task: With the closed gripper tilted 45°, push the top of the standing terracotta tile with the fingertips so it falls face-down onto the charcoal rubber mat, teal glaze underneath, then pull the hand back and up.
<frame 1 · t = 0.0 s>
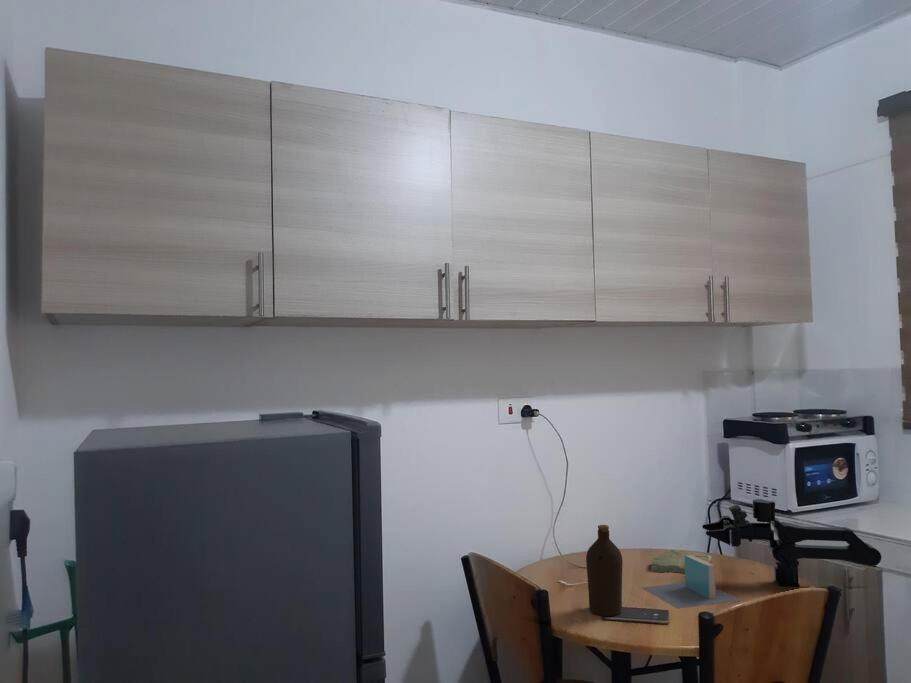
hand: (704, 529, 230), 17 cm above the table, tool horizontal, fingers open, 9 cm apart
decorative tile: (681, 568, 245), on the table
tile: (700, 592, 215), point 1 cm above the table, touching mat
olive oil: (605, 611, 202), on the table
mat: (689, 595, 214), on the table
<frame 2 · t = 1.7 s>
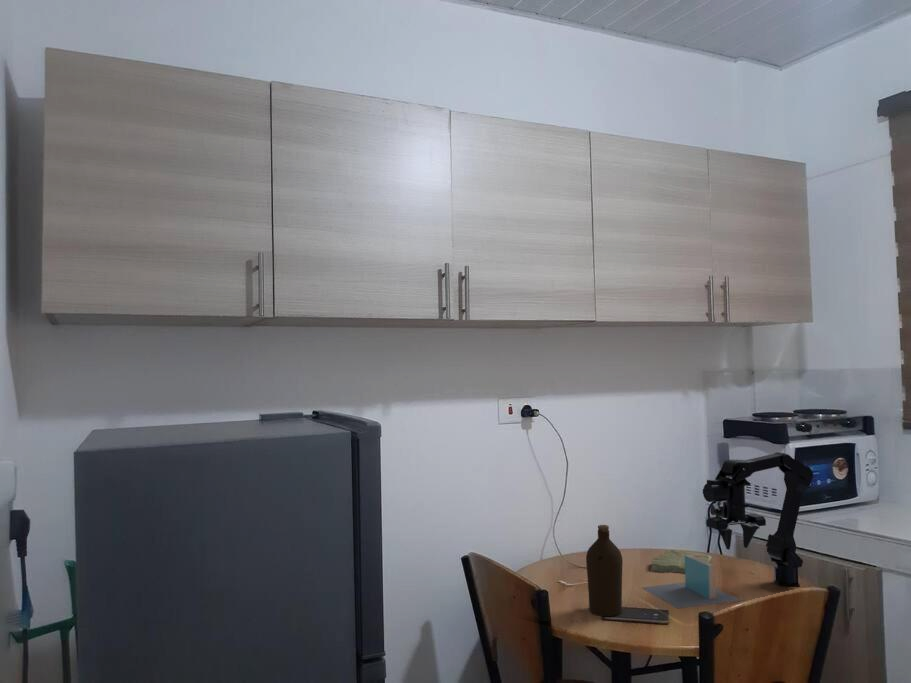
hand: (736, 548, 219), 13 cm above the table, tool pointing down, fingers open, 6 cm apart
nothing on the table moved.
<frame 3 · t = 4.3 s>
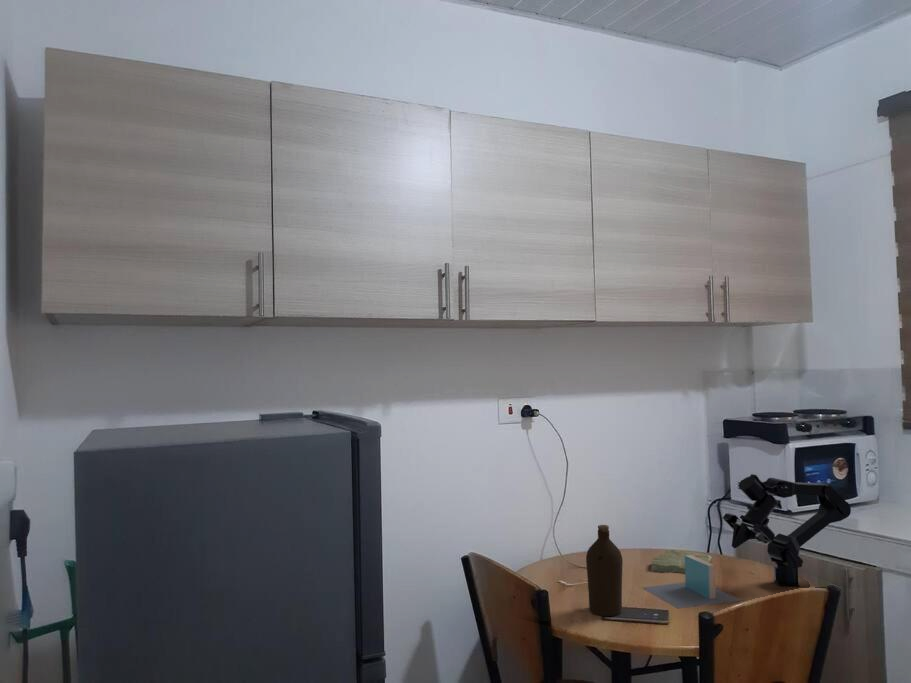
hand: (733, 547, 219), 14 cm above the table, tool tilted 45°, fingers closed
nothing on the table moved.
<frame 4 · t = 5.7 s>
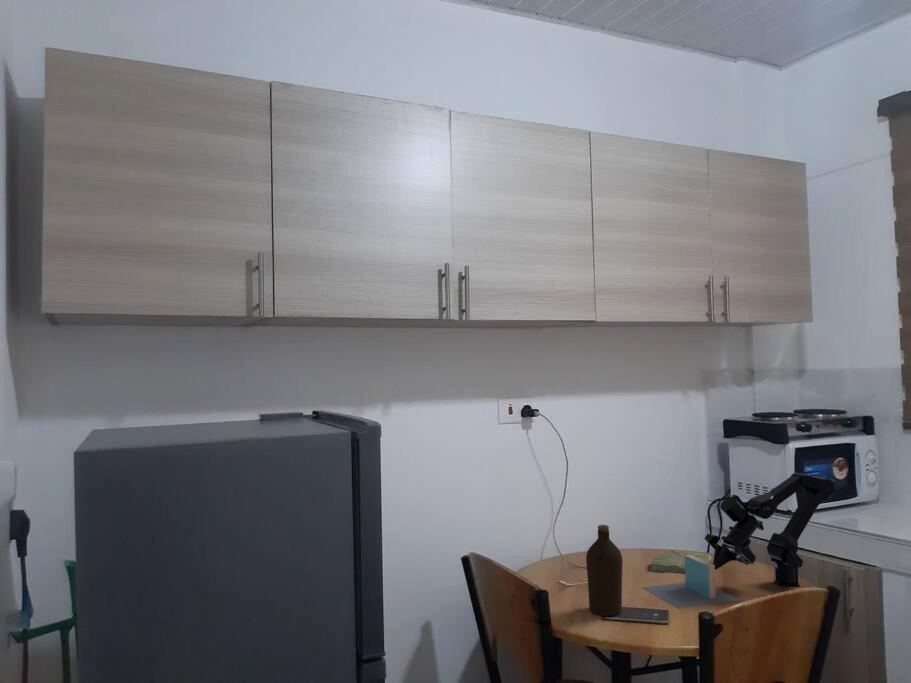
hand: (714, 568, 217), 7 cm above the table, tool tilted 45°, fingers closed
nothing on the table moved.
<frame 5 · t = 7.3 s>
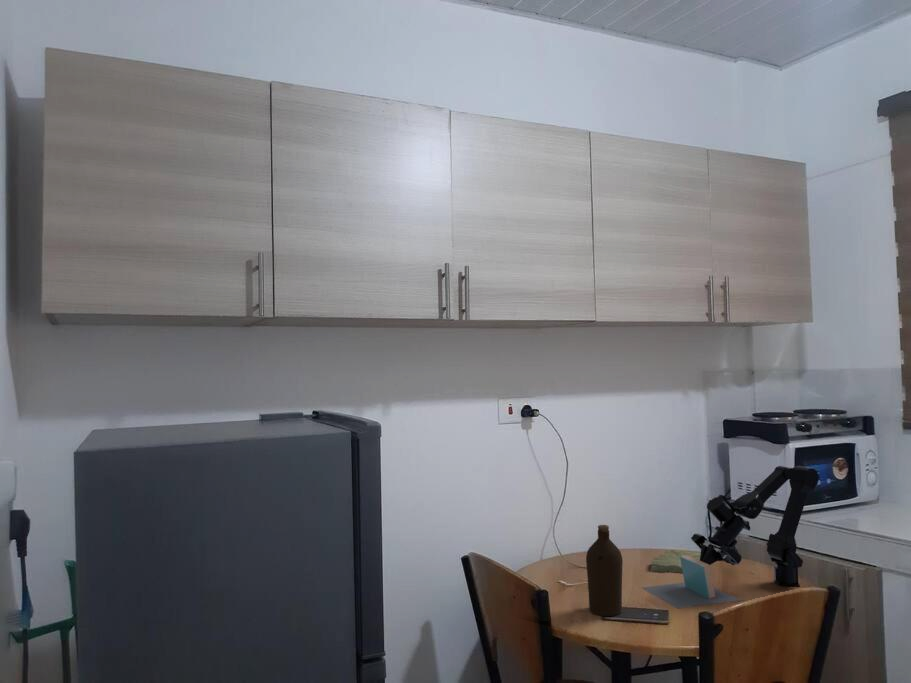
hand: (700, 569, 215), 8 cm above the table, tool tilted 45°, fingers closed
tile: (700, 591, 215), point 1 cm above the table, tilted 10°, touching mat
everything else where it was.
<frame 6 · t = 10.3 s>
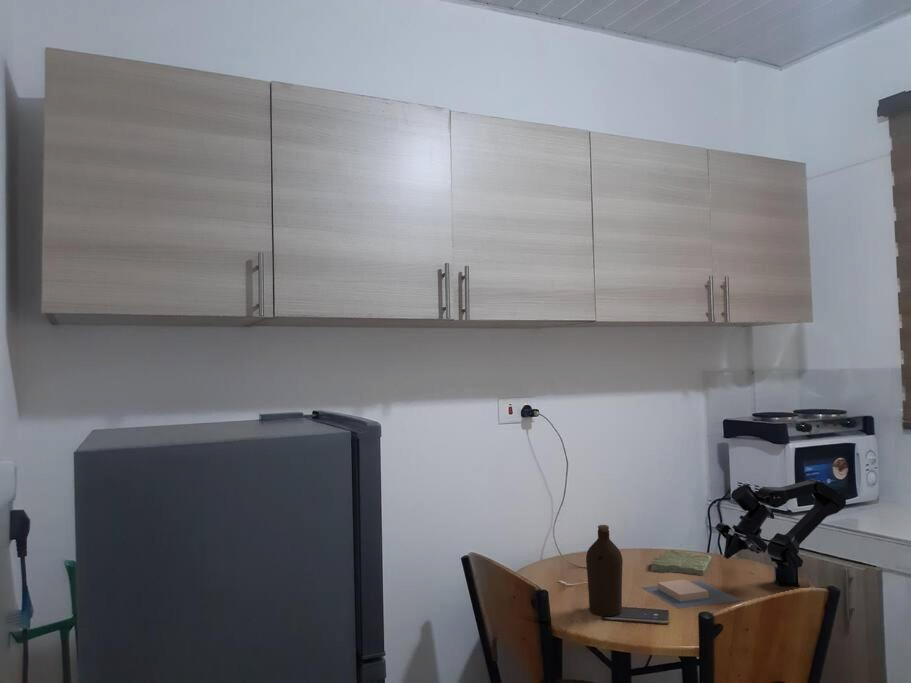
hand: (725, 557, 218), 10 cm above the table, tool tilted 45°, fingers closed
tile: (696, 588, 215), point 2 cm above the table, tilted 90°, touching mat
everything else where it was.
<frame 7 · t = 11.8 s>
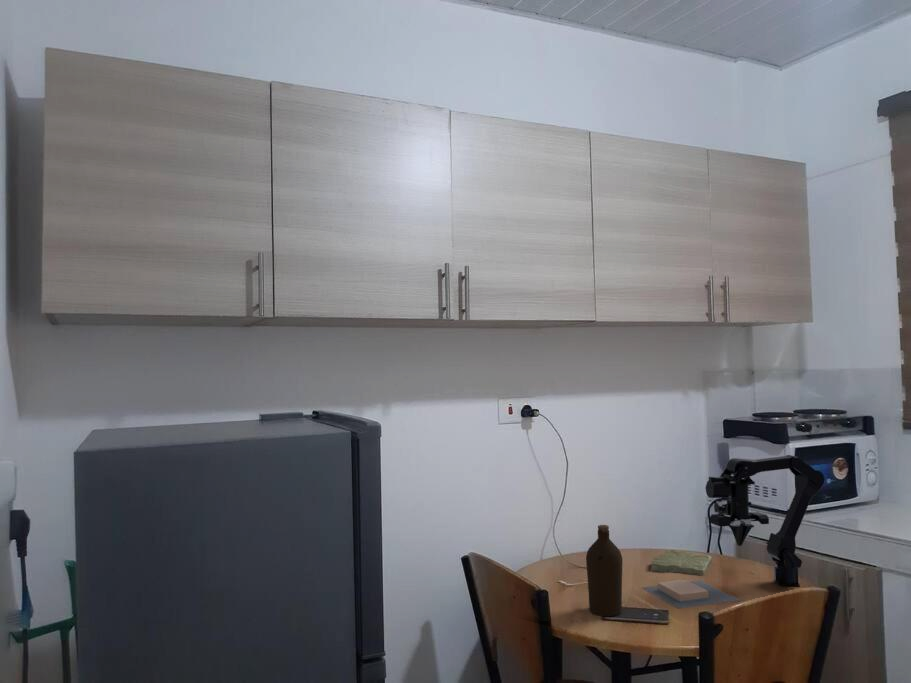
hand: (739, 545, 223), 13 cm above the table, tool pointing down, fingers closed
nothing on the table moved.
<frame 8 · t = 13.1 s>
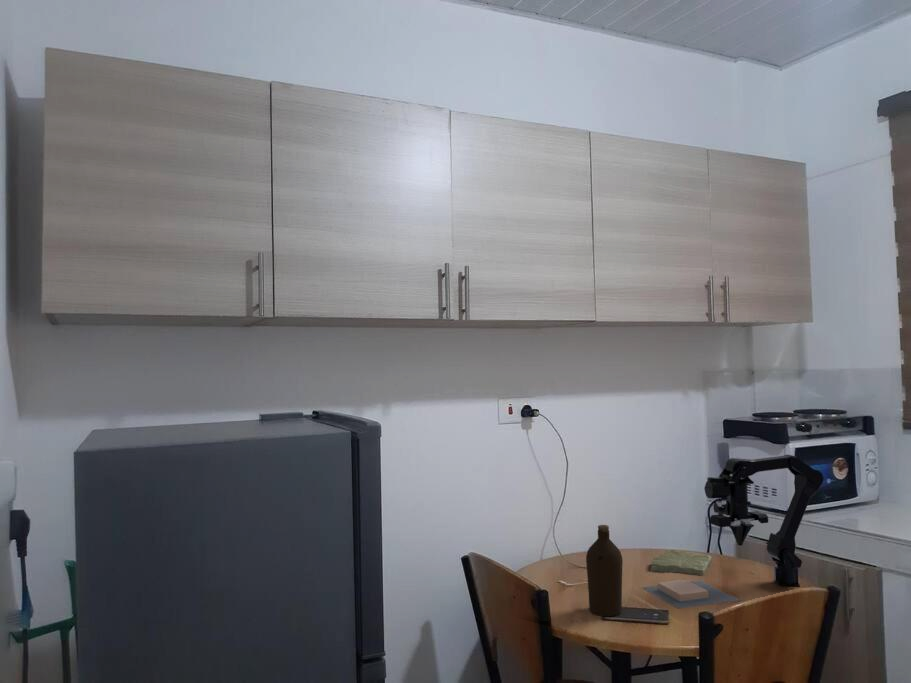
hand: (739, 545, 223), 13 cm above the table, tool pointing down, fingers closed
nothing on the table moved.
at the end: tile tilted 90°; tile inside the target area on the mat (0.4 cm from its centre), point 1.8 cm above the mat's base; the gripper is holding nothing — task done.
